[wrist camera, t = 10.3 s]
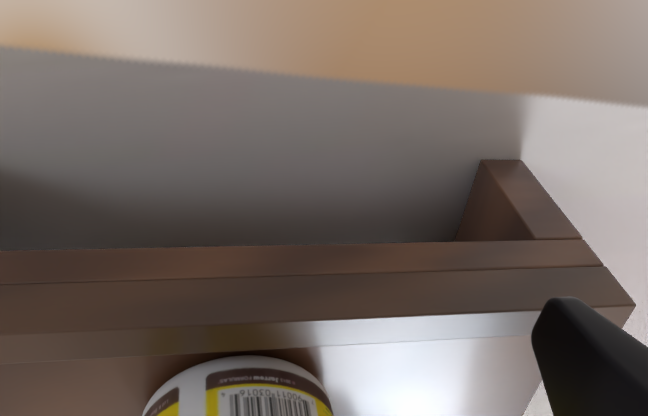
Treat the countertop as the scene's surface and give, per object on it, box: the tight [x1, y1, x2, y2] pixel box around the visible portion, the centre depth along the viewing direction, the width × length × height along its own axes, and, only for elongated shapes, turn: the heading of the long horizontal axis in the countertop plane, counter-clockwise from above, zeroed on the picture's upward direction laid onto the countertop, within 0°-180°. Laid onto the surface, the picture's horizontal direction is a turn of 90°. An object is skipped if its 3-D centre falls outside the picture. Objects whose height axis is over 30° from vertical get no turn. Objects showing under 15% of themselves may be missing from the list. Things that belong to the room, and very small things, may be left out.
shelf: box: [0, 160, 636, 416], centre depth 19 cm, size 20×10×7 cm, turn 83°
